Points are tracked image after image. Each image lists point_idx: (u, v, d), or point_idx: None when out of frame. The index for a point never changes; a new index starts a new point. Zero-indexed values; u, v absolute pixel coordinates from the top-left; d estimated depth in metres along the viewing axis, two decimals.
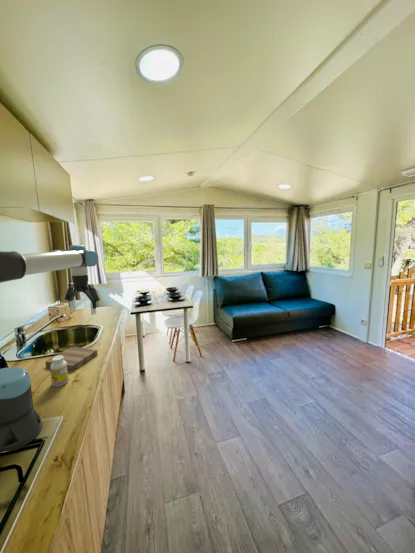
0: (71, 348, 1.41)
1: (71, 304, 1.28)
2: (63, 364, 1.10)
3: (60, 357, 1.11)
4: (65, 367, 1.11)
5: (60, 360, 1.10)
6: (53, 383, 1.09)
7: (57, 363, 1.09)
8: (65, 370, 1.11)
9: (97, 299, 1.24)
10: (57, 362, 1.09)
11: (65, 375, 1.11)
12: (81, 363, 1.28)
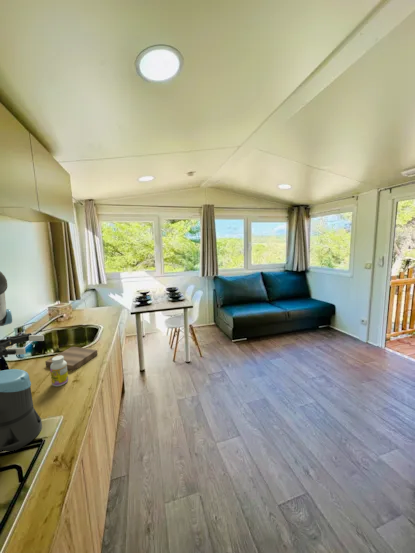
0: (71, 348, 1.41)
1: None
2: (63, 364, 1.10)
3: (60, 357, 1.11)
4: (65, 367, 1.11)
5: (60, 360, 1.10)
6: (53, 383, 1.09)
7: (57, 363, 1.09)
8: (65, 370, 1.11)
9: None
10: (57, 362, 1.09)
11: (65, 375, 1.11)
12: (81, 363, 1.28)
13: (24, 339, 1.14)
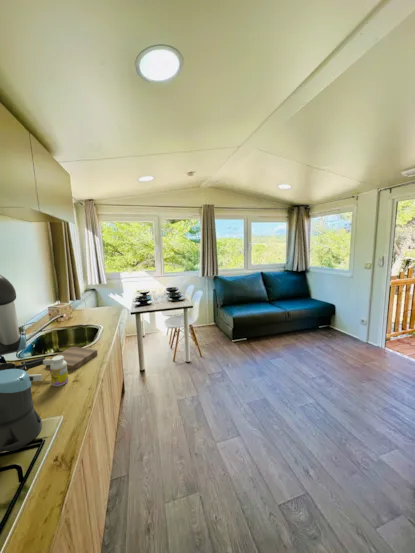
0: (71, 348, 1.41)
1: None
2: (63, 364, 1.10)
3: (60, 357, 1.11)
4: (65, 367, 1.11)
5: (60, 360, 1.10)
6: (53, 383, 1.09)
7: (57, 363, 1.09)
8: (65, 370, 1.11)
9: None
10: (57, 362, 1.09)
11: (65, 375, 1.11)
12: (81, 363, 1.28)
13: (38, 363, 1.17)
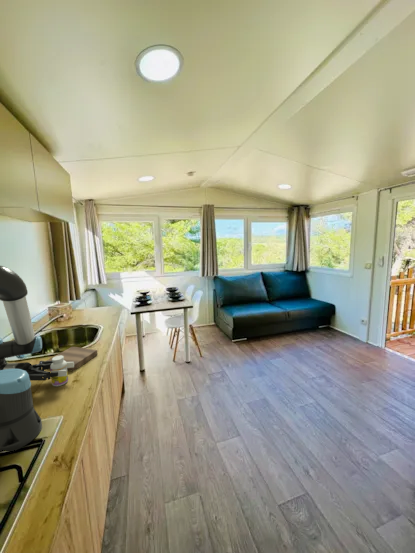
0: (71, 348, 1.41)
1: None
2: (63, 364, 1.10)
3: (60, 357, 1.11)
4: (65, 367, 1.11)
5: (60, 360, 1.10)
6: (53, 383, 1.09)
7: (57, 363, 1.09)
8: None
9: None
10: (57, 362, 1.09)
11: None
12: (81, 363, 1.28)
13: None
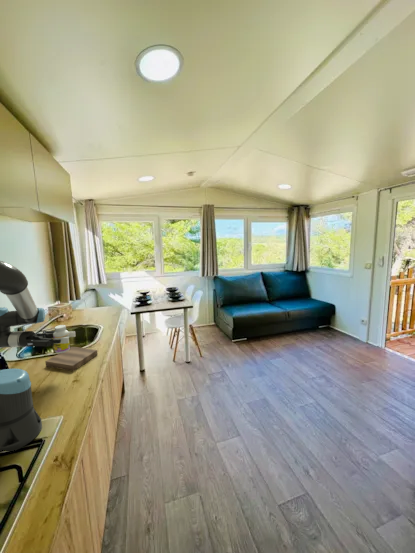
0: (71, 348, 1.41)
1: None
2: (65, 332, 1.17)
3: (62, 326, 1.18)
4: (67, 335, 1.18)
5: (62, 328, 1.16)
6: (56, 350, 1.16)
7: (60, 331, 1.16)
8: None
9: None
10: (59, 330, 1.16)
11: (67, 343, 1.18)
12: (81, 363, 1.28)
13: None
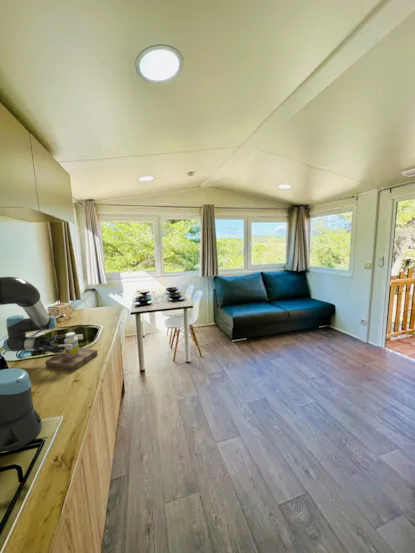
0: None
1: None
2: (75, 339, 1.31)
3: (72, 333, 1.31)
4: (76, 342, 1.32)
5: (72, 335, 1.30)
6: (66, 355, 1.30)
7: (70, 338, 1.29)
8: (76, 344, 1.32)
9: None
10: (70, 337, 1.29)
11: (76, 348, 1.32)
12: (81, 363, 1.28)
13: None
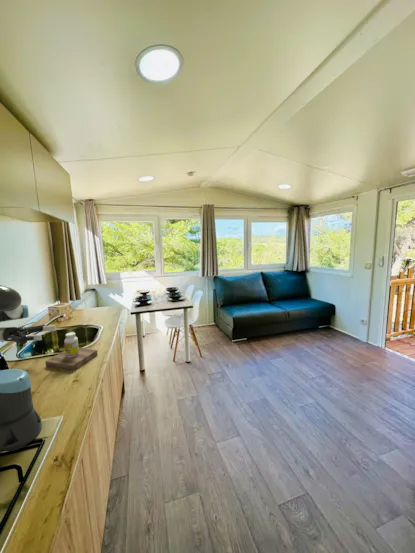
0: None
1: None
2: (75, 339, 1.31)
3: (72, 333, 1.31)
4: (76, 342, 1.32)
5: (72, 335, 1.30)
6: (66, 355, 1.30)
7: (70, 338, 1.29)
8: (76, 344, 1.32)
9: None
10: (70, 337, 1.29)
11: (76, 348, 1.32)
12: (81, 363, 1.28)
13: (39, 329, 1.34)
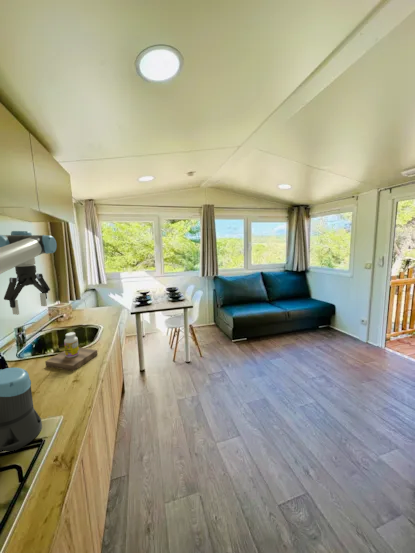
0: None
1: None
2: (75, 339, 1.31)
3: (72, 333, 1.31)
4: (76, 342, 1.32)
5: (72, 335, 1.30)
6: (66, 355, 1.30)
7: (70, 338, 1.29)
8: (76, 344, 1.32)
9: None
10: (70, 337, 1.29)
11: (76, 348, 1.32)
12: (81, 363, 1.28)
13: (40, 290, 1.16)
